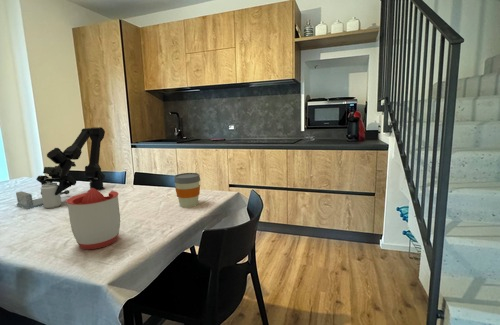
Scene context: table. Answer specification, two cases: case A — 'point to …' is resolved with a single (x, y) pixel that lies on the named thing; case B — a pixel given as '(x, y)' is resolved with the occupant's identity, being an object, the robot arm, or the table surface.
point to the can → (50, 195)
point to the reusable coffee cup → (187, 189)
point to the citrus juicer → (94, 218)
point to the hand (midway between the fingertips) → (48, 194)
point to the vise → (30, 200)
